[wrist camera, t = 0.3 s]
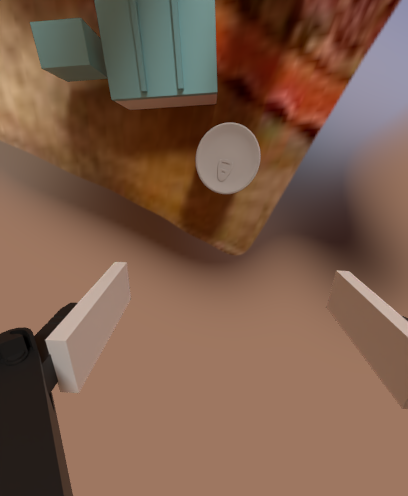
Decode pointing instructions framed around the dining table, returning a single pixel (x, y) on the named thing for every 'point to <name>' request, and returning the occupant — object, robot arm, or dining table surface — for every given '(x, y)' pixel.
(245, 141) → the canned food
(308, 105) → the dining table surface
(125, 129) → the dining table surface
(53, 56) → the teal stepped block
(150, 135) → the dining table surface
